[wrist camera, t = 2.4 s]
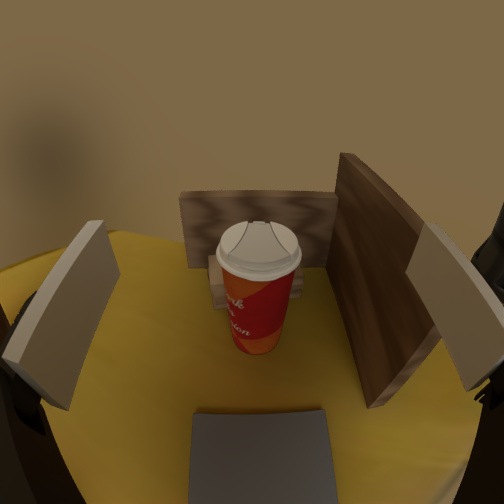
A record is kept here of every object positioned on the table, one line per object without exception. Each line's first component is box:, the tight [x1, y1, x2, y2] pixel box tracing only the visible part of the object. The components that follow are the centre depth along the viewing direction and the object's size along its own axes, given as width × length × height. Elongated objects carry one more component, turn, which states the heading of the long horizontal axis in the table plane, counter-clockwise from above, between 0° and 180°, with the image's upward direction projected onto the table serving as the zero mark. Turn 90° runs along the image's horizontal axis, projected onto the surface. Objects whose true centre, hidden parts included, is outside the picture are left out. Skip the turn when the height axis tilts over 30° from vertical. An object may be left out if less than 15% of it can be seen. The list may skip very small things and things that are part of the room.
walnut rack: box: [179, 153, 442, 409], centre depth 29 cm, size 24×26×18 cm
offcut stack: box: [207, 255, 304, 310], centre depth 38 cm, size 12×7×4 cm, turn 102°
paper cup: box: [216, 221, 302, 355], centre depth 28 cm, size 8×8×14 cm
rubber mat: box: [188, 409, 338, 504], centre depth 19 cm, size 13×13×1 cm
